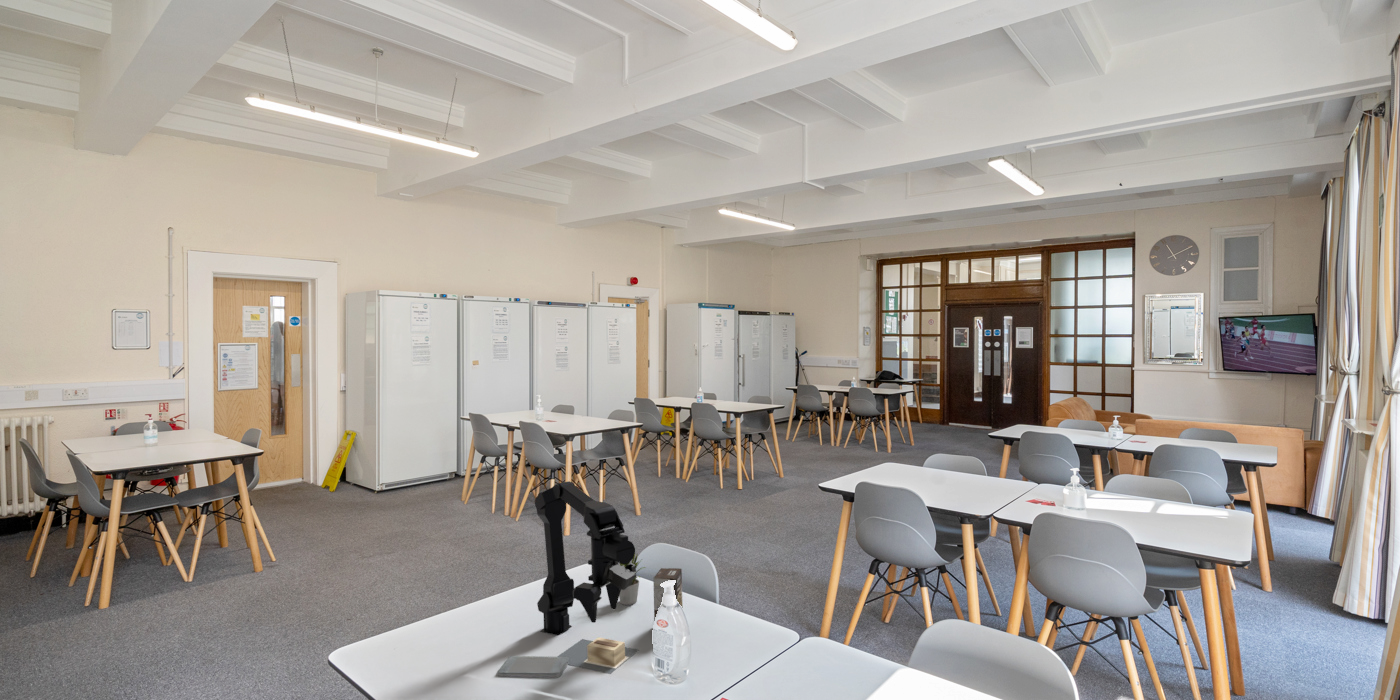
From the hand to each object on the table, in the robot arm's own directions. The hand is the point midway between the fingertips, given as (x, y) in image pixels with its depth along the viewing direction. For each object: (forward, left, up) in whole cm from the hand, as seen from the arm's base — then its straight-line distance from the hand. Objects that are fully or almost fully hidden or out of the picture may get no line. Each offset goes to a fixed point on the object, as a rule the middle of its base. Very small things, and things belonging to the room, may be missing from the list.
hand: (603, 615), depth 174 cm
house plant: (-15, +36, -11) cm, 41 cm away
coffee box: (+8, +21, -11) cm, 25 cm away
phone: (-13, -13, -11) cm, 21 cm away
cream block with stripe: (+2, -2, -10) cm, 11 cm away
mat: (-2, -1, -11) cm, 11 cm away
